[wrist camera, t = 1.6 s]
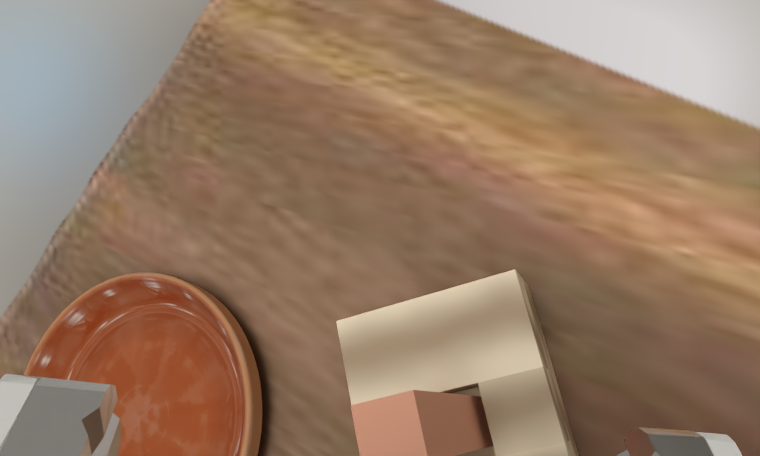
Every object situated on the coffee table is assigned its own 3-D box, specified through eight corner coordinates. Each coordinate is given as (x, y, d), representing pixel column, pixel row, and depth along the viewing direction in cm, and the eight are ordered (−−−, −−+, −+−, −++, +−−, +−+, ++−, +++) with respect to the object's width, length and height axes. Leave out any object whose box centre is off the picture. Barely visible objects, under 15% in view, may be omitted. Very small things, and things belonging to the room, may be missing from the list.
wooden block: (493, 445, 40) (428, 462, 27) (447, 455, 40) (363, 476, 28) (481, 396, 41) (413, 389, 28) (436, 407, 41) (350, 405, 29)
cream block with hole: (606, 550, 39) (602, 573, 33) (419, 580, 42) (388, 605, 36) (529, 286, 44) (515, 269, 39) (369, 331, 48) (336, 321, 42)
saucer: (146, 646, 48) (109, 663, 44) (3, 433, 58) (-36, 434, 54) (333, 400, 47) (310, 399, 44) (157, 229, 57) (128, 218, 54)
